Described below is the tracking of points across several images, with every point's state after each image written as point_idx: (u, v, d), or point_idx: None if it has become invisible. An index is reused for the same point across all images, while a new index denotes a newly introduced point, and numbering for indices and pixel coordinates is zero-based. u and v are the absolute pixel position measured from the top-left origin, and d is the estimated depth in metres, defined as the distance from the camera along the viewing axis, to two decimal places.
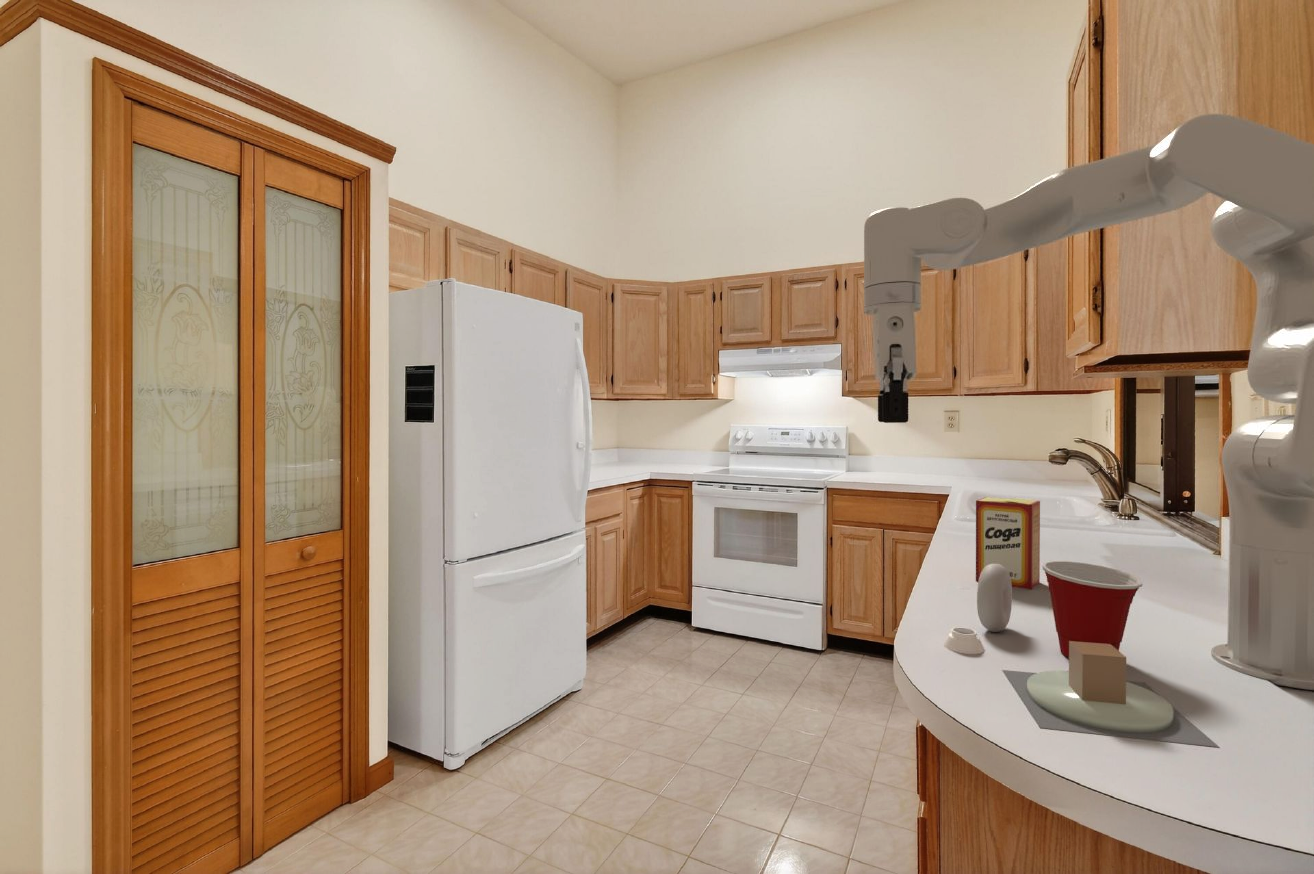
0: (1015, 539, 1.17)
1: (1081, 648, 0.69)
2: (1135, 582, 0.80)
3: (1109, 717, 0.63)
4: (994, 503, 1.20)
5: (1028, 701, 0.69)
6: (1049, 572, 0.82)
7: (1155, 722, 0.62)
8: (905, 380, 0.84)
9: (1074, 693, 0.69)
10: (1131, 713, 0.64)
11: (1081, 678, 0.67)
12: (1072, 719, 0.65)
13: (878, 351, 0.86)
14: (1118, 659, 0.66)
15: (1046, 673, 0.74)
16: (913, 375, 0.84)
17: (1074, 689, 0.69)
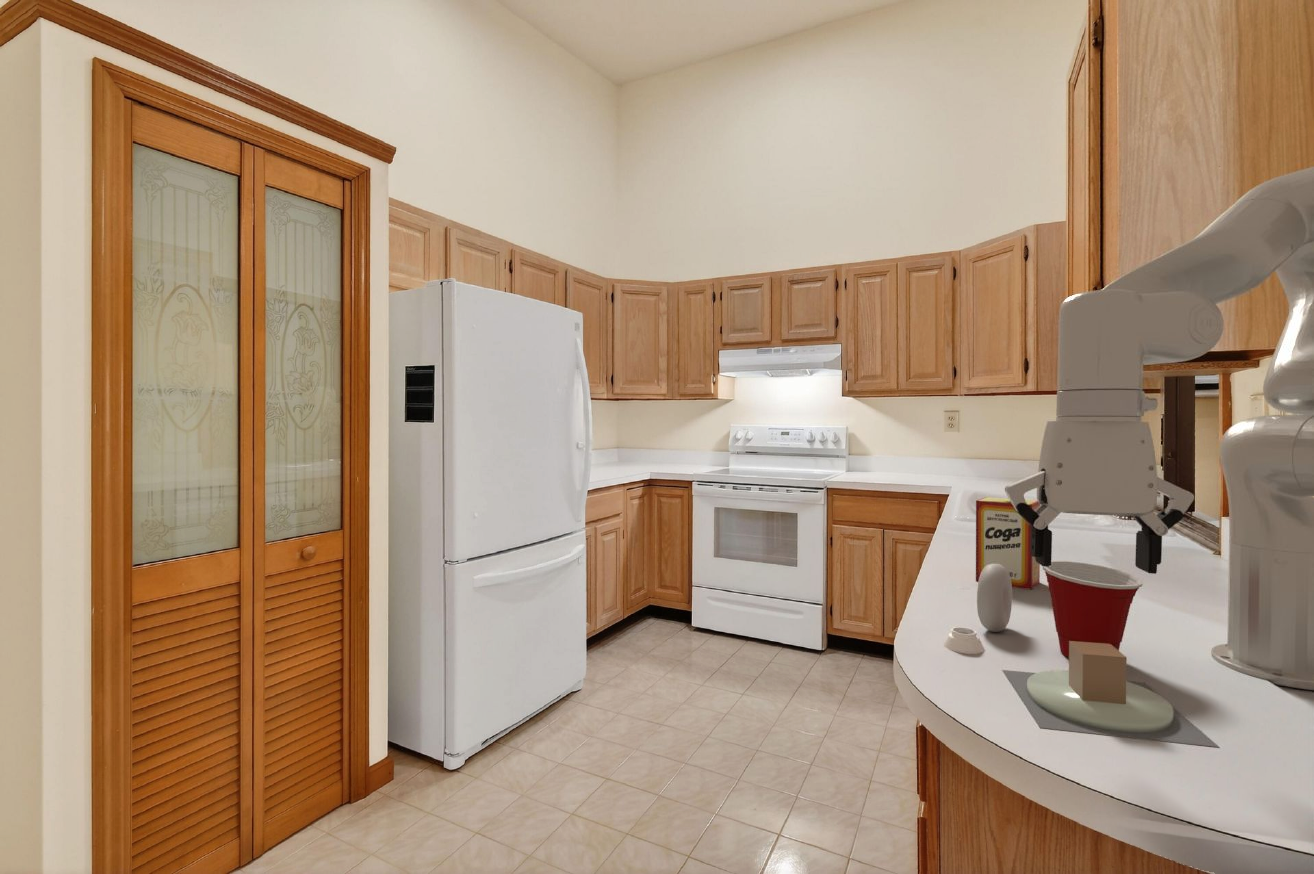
0: (1015, 539, 1.17)
1: (1081, 648, 0.69)
2: (1135, 582, 0.80)
3: (1109, 717, 0.63)
4: (994, 503, 1.20)
5: (1028, 701, 0.69)
6: (1049, 572, 0.82)
7: (1155, 722, 0.62)
8: None
9: (1074, 693, 0.69)
10: (1131, 713, 0.64)
11: (1082, 678, 0.67)
12: (1072, 720, 0.65)
13: (1152, 481, 0.65)
14: (1119, 659, 0.66)
15: (1045, 673, 0.74)
16: None
17: (1074, 689, 0.69)
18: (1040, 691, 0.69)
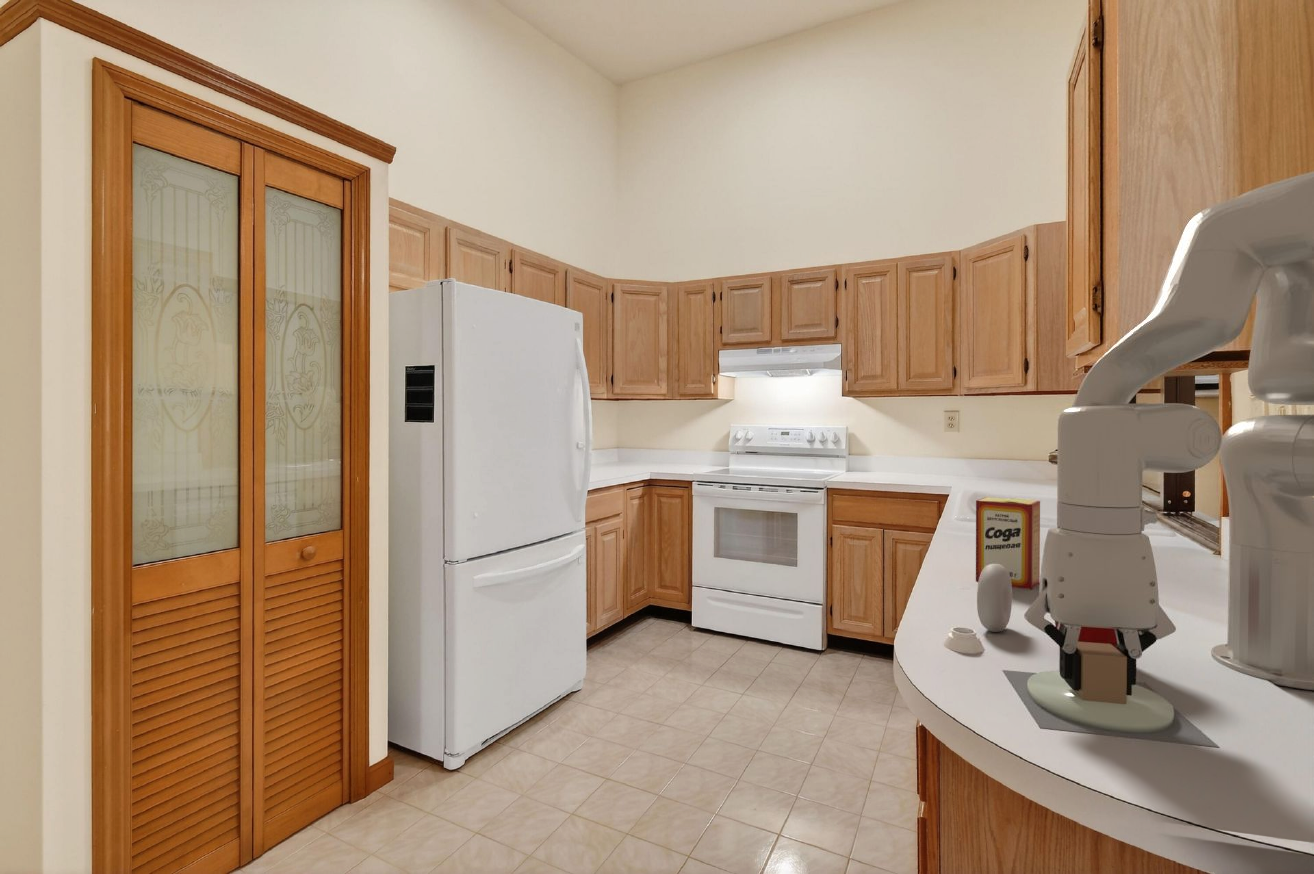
0: (1015, 539, 1.17)
1: (1081, 648, 0.69)
2: None
3: (1110, 717, 0.63)
4: (994, 503, 1.19)
5: (1028, 701, 0.69)
6: None
7: (1156, 722, 0.62)
8: None
9: (1074, 693, 0.69)
10: (1132, 713, 0.64)
11: (1082, 678, 0.67)
12: (1072, 719, 0.65)
13: (1153, 596, 0.65)
14: (1119, 659, 0.66)
15: (1046, 673, 0.74)
16: None
17: None
18: (1040, 691, 0.69)
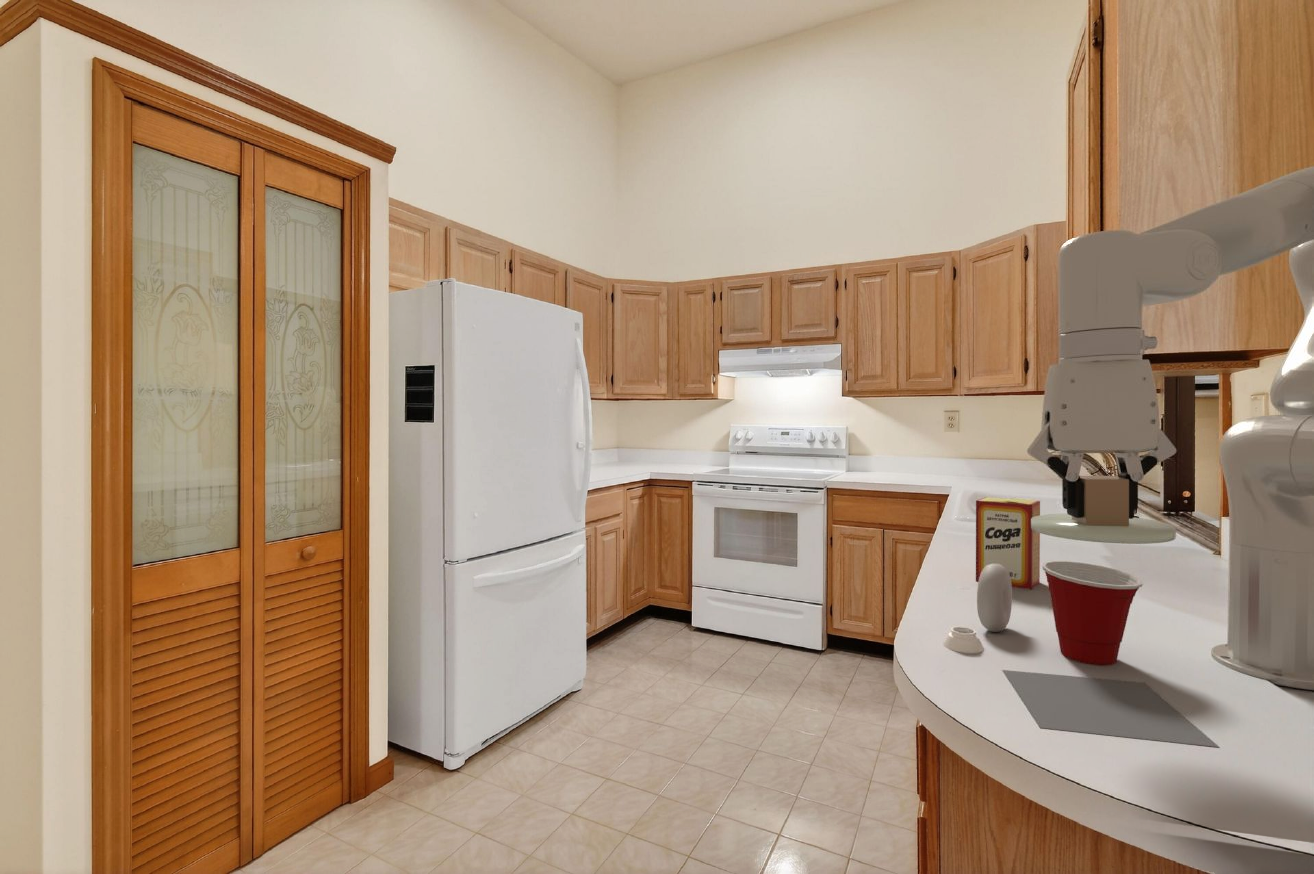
0: (1015, 539, 1.17)
1: (1084, 477, 0.69)
2: (1135, 582, 0.80)
3: (1113, 532, 0.64)
4: (994, 503, 1.19)
5: (1028, 701, 0.69)
6: (1049, 572, 0.82)
7: (1158, 533, 0.63)
8: None
9: (1077, 523, 0.70)
10: (1135, 529, 0.65)
11: (1085, 504, 0.68)
12: (1077, 538, 0.66)
13: (1154, 417, 0.66)
14: (1121, 481, 0.67)
15: (1049, 515, 0.75)
16: None
17: (1078, 519, 0.70)
18: (1044, 522, 0.70)
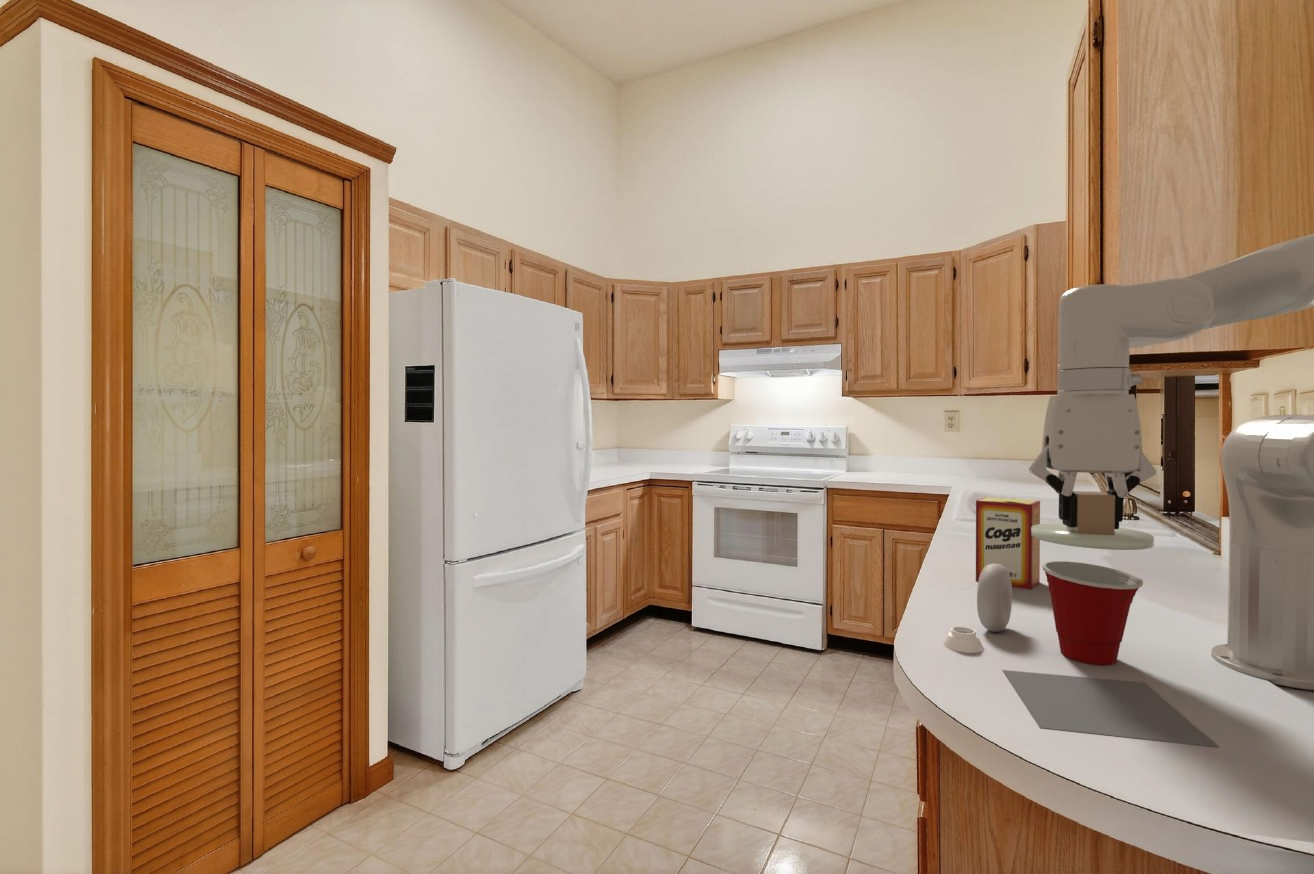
0: (1015, 538, 1.17)
1: (1077, 493, 0.81)
2: (1135, 582, 0.80)
3: (1100, 539, 0.76)
4: (994, 503, 1.20)
5: (1028, 701, 0.69)
6: (1049, 572, 0.82)
7: (1138, 541, 0.75)
8: None
9: (1071, 531, 0.82)
10: (1118, 538, 0.77)
11: (1077, 515, 0.80)
12: (1069, 544, 0.78)
13: (1137, 443, 0.78)
14: (1108, 497, 0.79)
15: (1047, 524, 0.87)
16: None
17: (1071, 528, 0.82)
18: (1042, 530, 0.82)
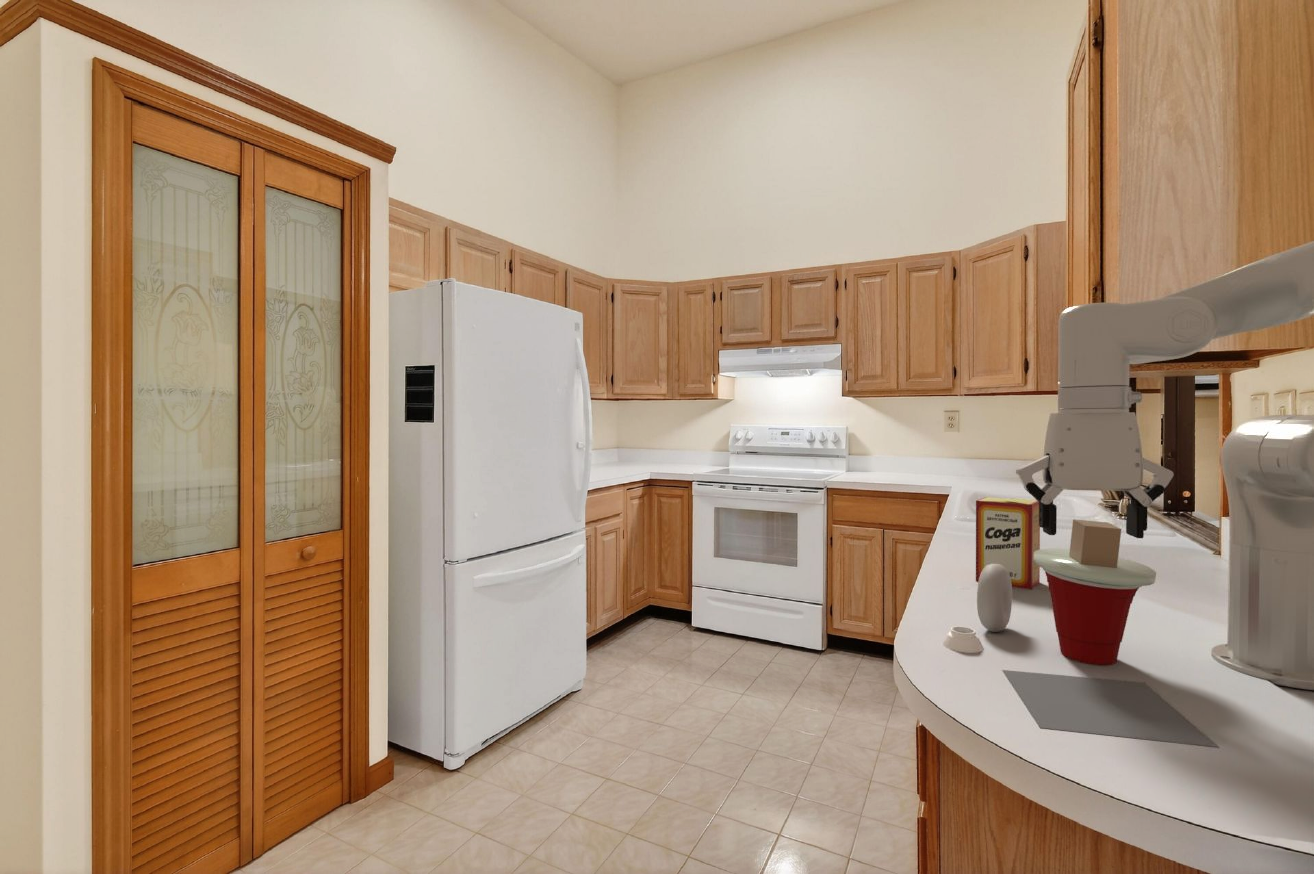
0: (1015, 538, 1.17)
1: (1083, 523, 0.81)
2: None
3: (1103, 573, 0.76)
4: (994, 503, 1.20)
5: (1028, 701, 0.69)
6: (1049, 572, 0.82)
7: (1141, 577, 0.75)
8: None
9: (1073, 560, 0.82)
10: (1121, 572, 0.77)
11: (1082, 546, 0.80)
12: (1071, 576, 0.78)
13: (1138, 461, 0.78)
14: (1114, 530, 0.79)
15: (1049, 549, 0.87)
16: None
17: (1074, 557, 0.82)
18: (1045, 558, 0.82)
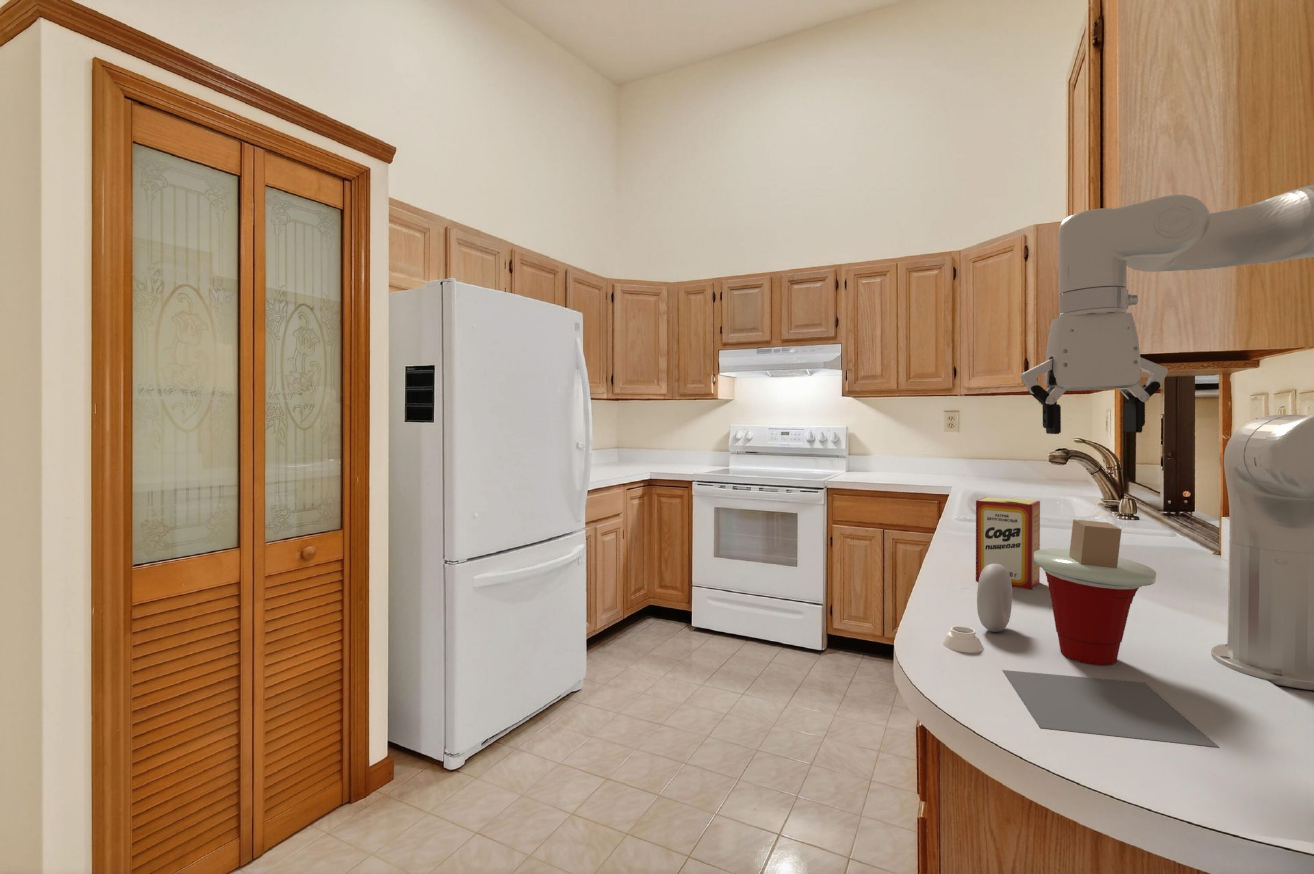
0: (1015, 538, 1.17)
1: (1083, 523, 0.81)
2: None
3: (1103, 573, 0.76)
4: (994, 503, 1.20)
5: (1028, 701, 0.69)
6: (1049, 572, 0.82)
7: (1141, 578, 0.75)
8: None
9: (1074, 560, 0.82)
10: (1121, 572, 0.77)
11: (1082, 546, 0.80)
12: (1071, 576, 0.78)
13: (1136, 358, 0.82)
14: (1115, 530, 0.79)
15: (1049, 549, 0.87)
16: None
17: (1074, 557, 0.82)
18: (1045, 558, 0.82)
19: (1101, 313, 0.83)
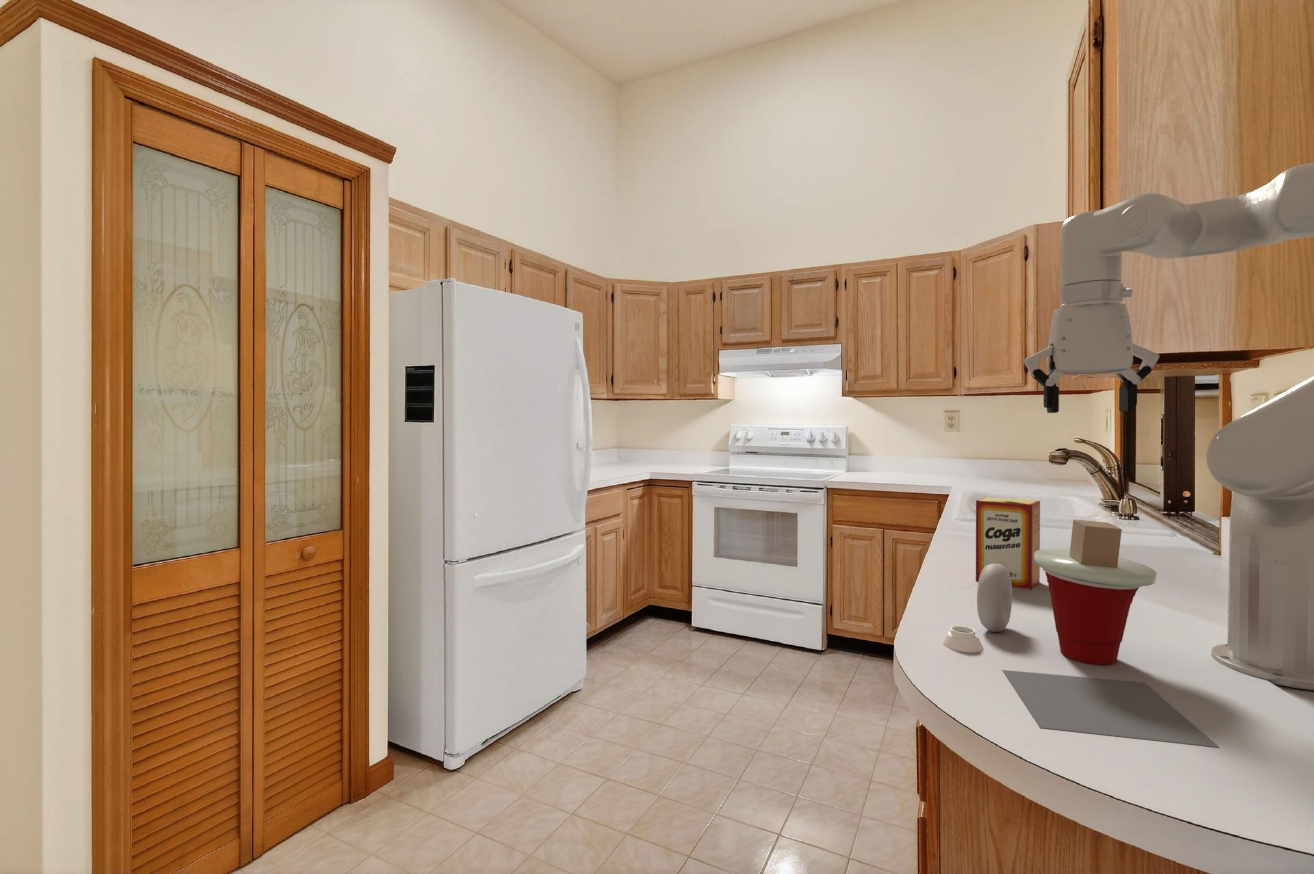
0: (1015, 539, 1.17)
1: (1083, 523, 0.81)
2: None
3: (1103, 573, 0.76)
4: (994, 503, 1.19)
5: (1028, 701, 0.69)
6: (1049, 572, 0.82)
7: (1141, 578, 0.75)
8: None
9: (1074, 560, 0.82)
10: (1121, 572, 0.77)
11: (1082, 546, 0.80)
12: (1072, 576, 0.78)
13: (1129, 345, 0.92)
14: (1115, 530, 0.79)
15: (1049, 549, 0.87)
16: None
17: (1074, 557, 0.82)
18: (1045, 558, 0.82)
19: (1096, 304, 0.92)
